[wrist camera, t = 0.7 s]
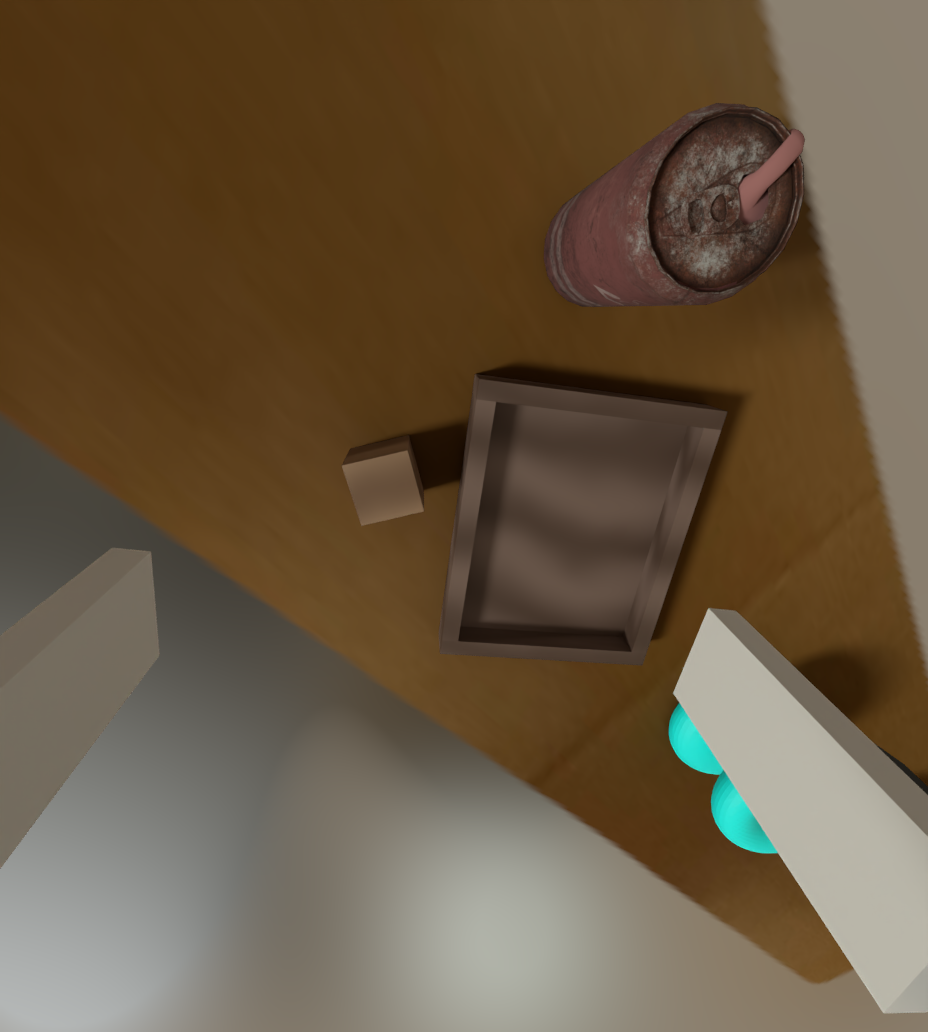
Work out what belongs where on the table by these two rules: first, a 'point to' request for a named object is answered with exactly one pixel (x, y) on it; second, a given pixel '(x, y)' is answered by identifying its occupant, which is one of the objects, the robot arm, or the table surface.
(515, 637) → the tray
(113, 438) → the table surface
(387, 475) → the brown boxy piece
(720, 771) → the donuts
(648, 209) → the can
